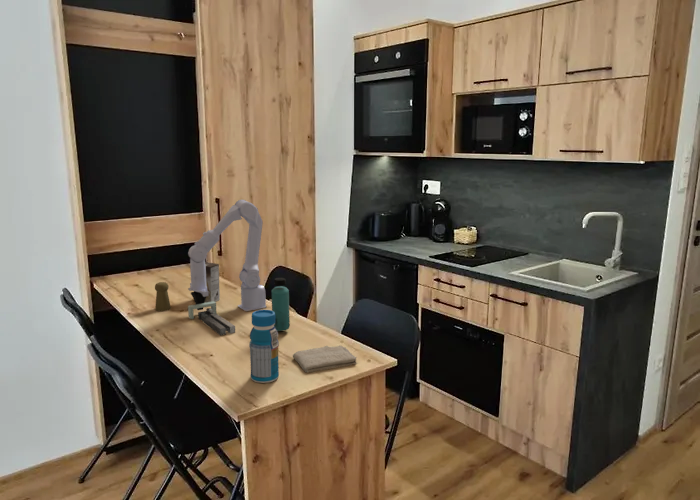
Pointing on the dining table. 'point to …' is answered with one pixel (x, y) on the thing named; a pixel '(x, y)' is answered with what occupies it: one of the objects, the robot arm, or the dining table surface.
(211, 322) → the tong base
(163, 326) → the dining table surface
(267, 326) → the beverage bottle
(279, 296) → the beverage bottle
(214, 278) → the coffee box
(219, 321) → the tong arm
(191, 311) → the pale green notched block
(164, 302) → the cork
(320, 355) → the washcloth
